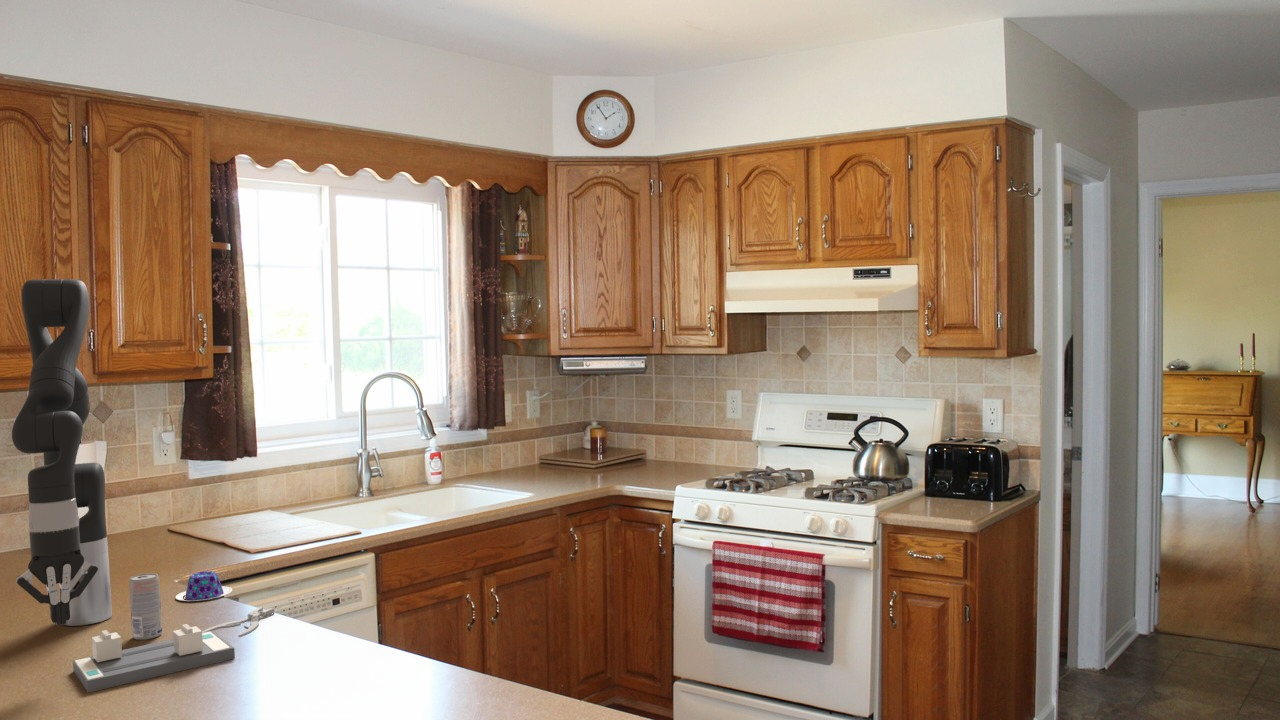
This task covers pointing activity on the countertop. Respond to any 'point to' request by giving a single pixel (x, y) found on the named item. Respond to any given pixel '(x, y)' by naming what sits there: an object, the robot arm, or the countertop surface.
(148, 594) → the energy drink
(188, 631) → the tab
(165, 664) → the switch panel
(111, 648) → the tab
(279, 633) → the countertop surface
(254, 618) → the pliers
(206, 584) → the pudding
